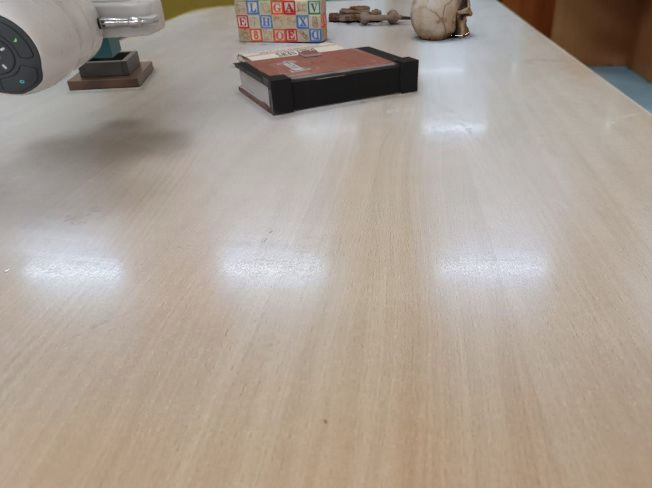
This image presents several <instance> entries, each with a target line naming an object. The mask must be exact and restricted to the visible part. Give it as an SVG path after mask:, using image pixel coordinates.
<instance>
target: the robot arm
mask: <svg viewBox="0 0 652 488" xmlns="http://www.w3.org/2000/svg"><path fill="white" fill-rule="evenodd" d="M163 8H164V7H163V4H162V0H0V95H6V96H11V97H12V96H14V97H22V96H29V95H33V94H37V93H41V92H43V91H46V90H48V89H51V88H53V87H55V86H56V85H58V84H60V83H61V82H63V81H64V80H65V79H66V78H68V77H70V76H71V74H72V73H73V72H74V71H76V70H78V68H80V67H81V66H82V65H83V64H85V63H86V62H87V61H89V60H90V59H91V58H93V57H94V56H95V55H96V54H97V52H98V51H99V49H100V47H101V44H102V41H103V38H113V37H118V38H137V37H146V36H151V35H154V34H156V33H158V32H160V31H162V30H164V29H165V28H166V20H165V13H164V9H163Z"/></svg>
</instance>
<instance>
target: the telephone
mask: <svg viewBox="0 0 652 488" xmlns="http://www.w3.org/2000/svg"><path fill="white" fill-rule="evenodd" d="M382 13H383V12H382V10H381V9H379V8H374V9H371V6H369V5H351V6H350V7H348V8H345V7H342V8H340V9H339V11H338V12H329V13H328V22H355V21H356V22H359V23H360V24H361V25H367V24H369V23H370V22H384V21H387V22H388V24H390V25H391V24H393V25H394V24H396V23H397V22H398V21H411V17H410V16H409V15H408V16H407V15H406V16H405V15H402V14H399V12H398V11H397V10H396V9H390V10H388V11H387V12H386V14H382Z"/></svg>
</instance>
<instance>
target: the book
mask: <svg viewBox="0 0 652 488" xmlns="http://www.w3.org/2000/svg"><path fill="white" fill-rule="evenodd" d="M237 62H238V63H235V62H234V67H235V68H236V69H238V70H239V78H240V84H241V85H238V86H237V87H238V91H239V92H241V93H242V94H243V95H245V96H246V97H247V98H249V99H250V100H251V101H254V102H255V103H256V104H257V105H258V106H260V107H261V108H263V109H264V110H265V111H267V112H268V113H269V114H271V115H272V116H279V115H285V114H290V113H294V112H295V111H301V110H307V109H313V108H319V107H325V106H331V105H335V104H336V105H337V104H341V103H342V104H343V103H347V102H354V101H359V100H365V99H371V98H377V97H382V96H389V95H394V94H406V93H413V92H418V86H419V68H420V66H419V65H420V60H419V59H417V58H415V57H412V56H399V55H396V54H393V53H390V52H387V51H384V50H381V49H378V48H375V47H372V46H369V45H367V46H360V47H354V48H353V47H352V48H345V49H343V50H335V51H327V52H317V51H315V50H312V51H309V50H307V51H302V52H298V55H294V56H286V57H278V58H270V59H262V60H254V61H246V62H239V61H237Z"/></svg>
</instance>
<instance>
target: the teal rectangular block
mask: <svg viewBox="0 0 652 488" xmlns="http://www.w3.org/2000/svg"><path fill="white" fill-rule="evenodd" d="M120 51H122V46H121V41H120V37H113V38H103V41H102V44H101V47H100V49H99V51H98V52H97V54H96V55H95V56H94V57H93V58H113V57H114V56H115V55H116V54H117V53H119V52H120Z"/></svg>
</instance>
